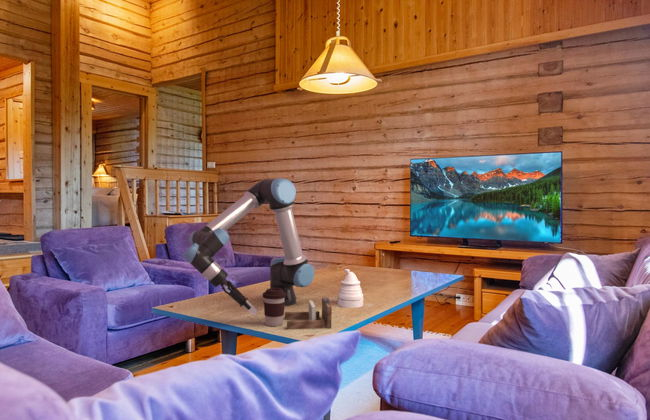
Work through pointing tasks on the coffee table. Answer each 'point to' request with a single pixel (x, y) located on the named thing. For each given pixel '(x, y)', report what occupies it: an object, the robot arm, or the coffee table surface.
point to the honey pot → (350, 292)
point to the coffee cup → (274, 306)
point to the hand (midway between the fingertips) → (255, 313)
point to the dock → (305, 315)
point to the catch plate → (312, 310)
